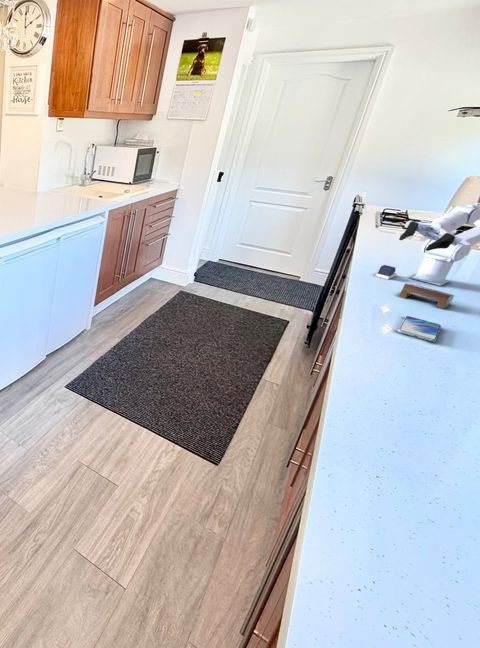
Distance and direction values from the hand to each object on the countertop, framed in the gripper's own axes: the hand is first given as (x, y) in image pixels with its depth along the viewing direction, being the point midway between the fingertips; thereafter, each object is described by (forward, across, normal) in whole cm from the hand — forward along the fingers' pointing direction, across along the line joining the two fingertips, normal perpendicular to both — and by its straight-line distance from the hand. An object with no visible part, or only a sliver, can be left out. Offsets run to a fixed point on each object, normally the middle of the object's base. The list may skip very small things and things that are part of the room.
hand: (414, 243), depth 140 cm
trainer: (-2, -3, +20) cm, 20 cm away
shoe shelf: (+13, +14, +9) cm, 21 cm away
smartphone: (+39, +24, -5) cm, 46 cm away
